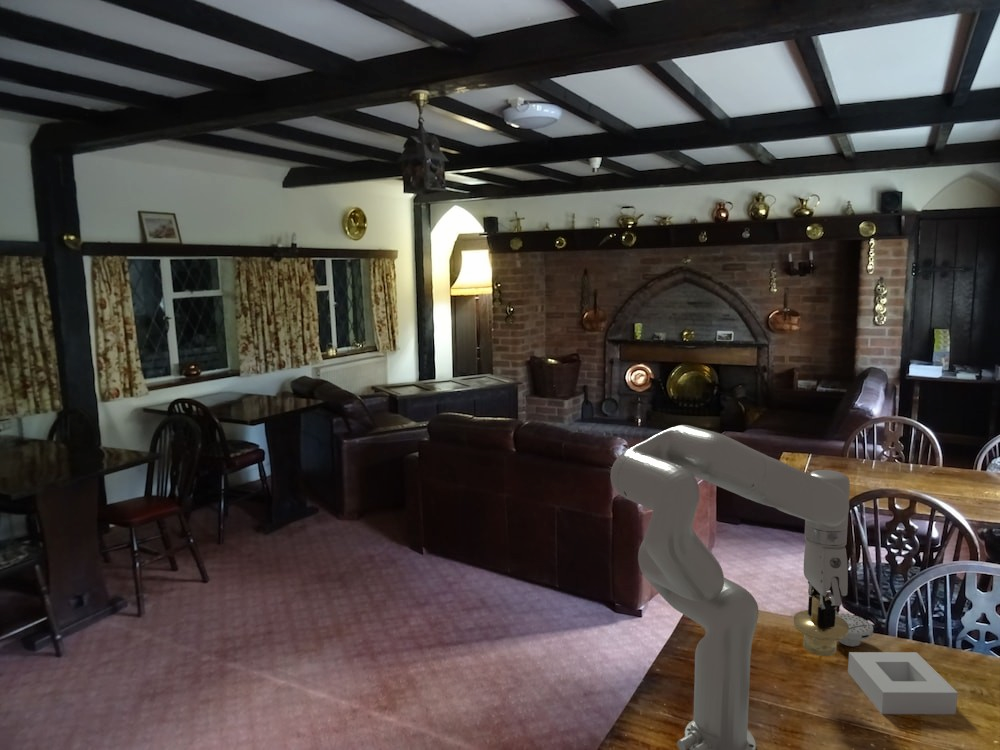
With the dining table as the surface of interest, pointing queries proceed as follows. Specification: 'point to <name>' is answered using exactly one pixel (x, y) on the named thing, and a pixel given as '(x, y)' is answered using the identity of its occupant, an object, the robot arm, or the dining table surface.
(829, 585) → the robot arm
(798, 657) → the dining table surface
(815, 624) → the end cover
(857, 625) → the showerhead
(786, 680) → the dining table surface
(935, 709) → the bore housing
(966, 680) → the dining table surface
